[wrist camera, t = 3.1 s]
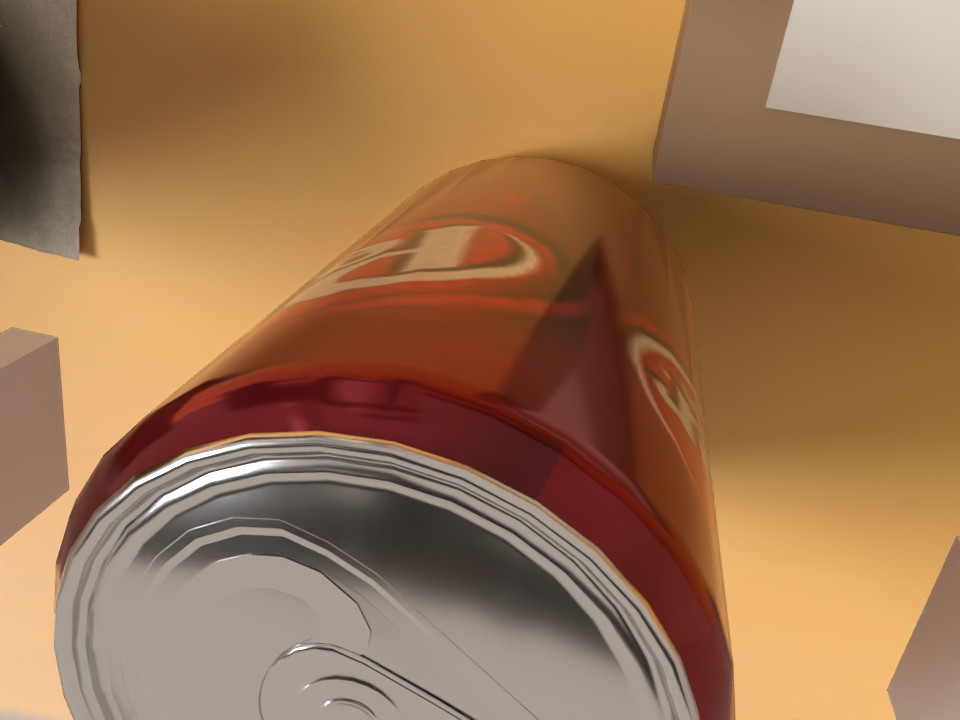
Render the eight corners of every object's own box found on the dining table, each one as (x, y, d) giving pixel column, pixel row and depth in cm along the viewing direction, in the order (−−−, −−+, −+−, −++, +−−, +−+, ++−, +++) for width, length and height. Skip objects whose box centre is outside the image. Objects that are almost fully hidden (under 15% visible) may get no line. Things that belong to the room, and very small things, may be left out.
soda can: (321, 347, 20) (-56, 745, 10) (471, 81, 17) (164, 227, 6) (570, 505, 21) (480, 1058, 10) (762, 274, 18) (929, 712, 7)
